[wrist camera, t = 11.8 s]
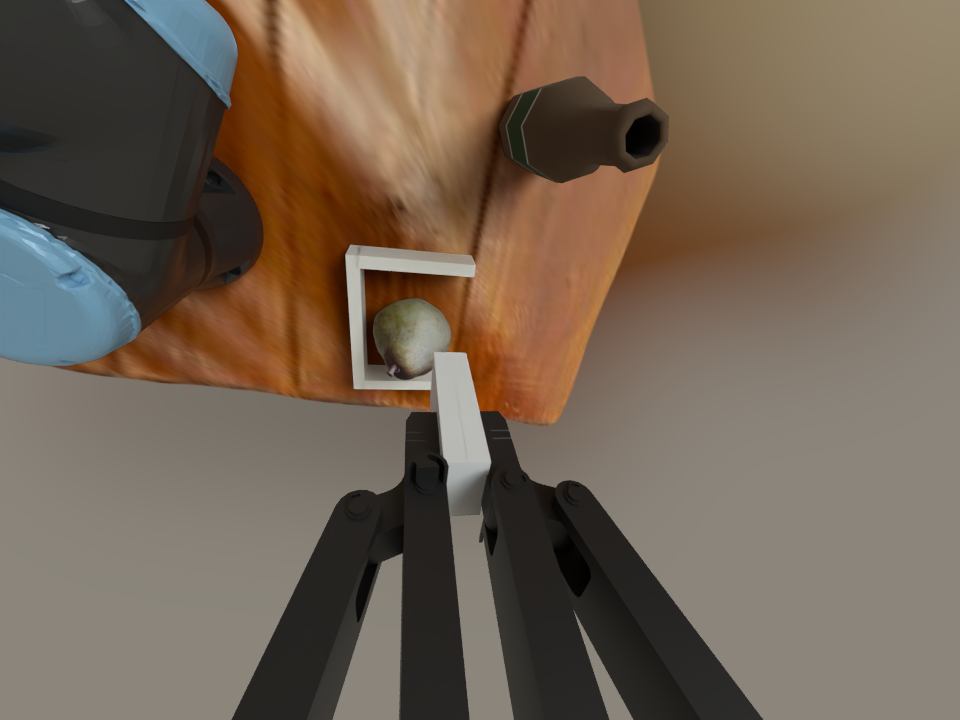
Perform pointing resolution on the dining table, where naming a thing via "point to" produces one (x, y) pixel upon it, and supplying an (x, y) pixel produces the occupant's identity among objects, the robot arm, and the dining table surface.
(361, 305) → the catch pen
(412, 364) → the fruit
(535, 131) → the beer bottle
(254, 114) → the dining table surface
